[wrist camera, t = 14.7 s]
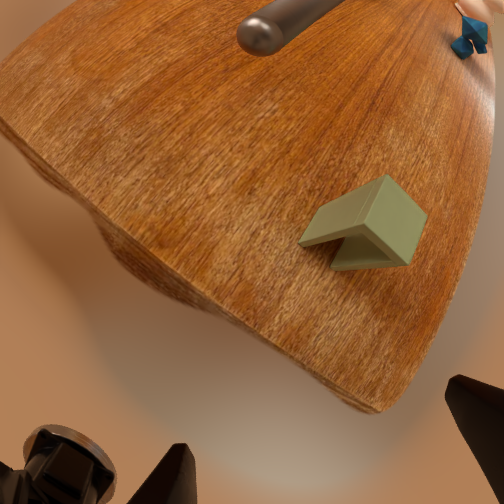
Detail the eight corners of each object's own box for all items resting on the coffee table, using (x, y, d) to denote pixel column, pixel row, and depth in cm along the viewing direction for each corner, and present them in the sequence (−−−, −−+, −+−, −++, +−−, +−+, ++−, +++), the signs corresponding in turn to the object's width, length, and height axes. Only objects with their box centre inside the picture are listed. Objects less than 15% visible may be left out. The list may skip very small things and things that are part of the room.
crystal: (497, 40, 25) (508, 50, 19) (467, 62, 32) (471, 76, 27) (468, 8, 24) (474, 8, 18) (440, 31, 32) (438, 37, 26)
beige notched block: (334, 271, 19) (409, 266, 12) (297, 243, 18) (363, 222, 12) (353, 235, 20) (428, 215, 13) (319, 206, 19) (387, 172, 12)
